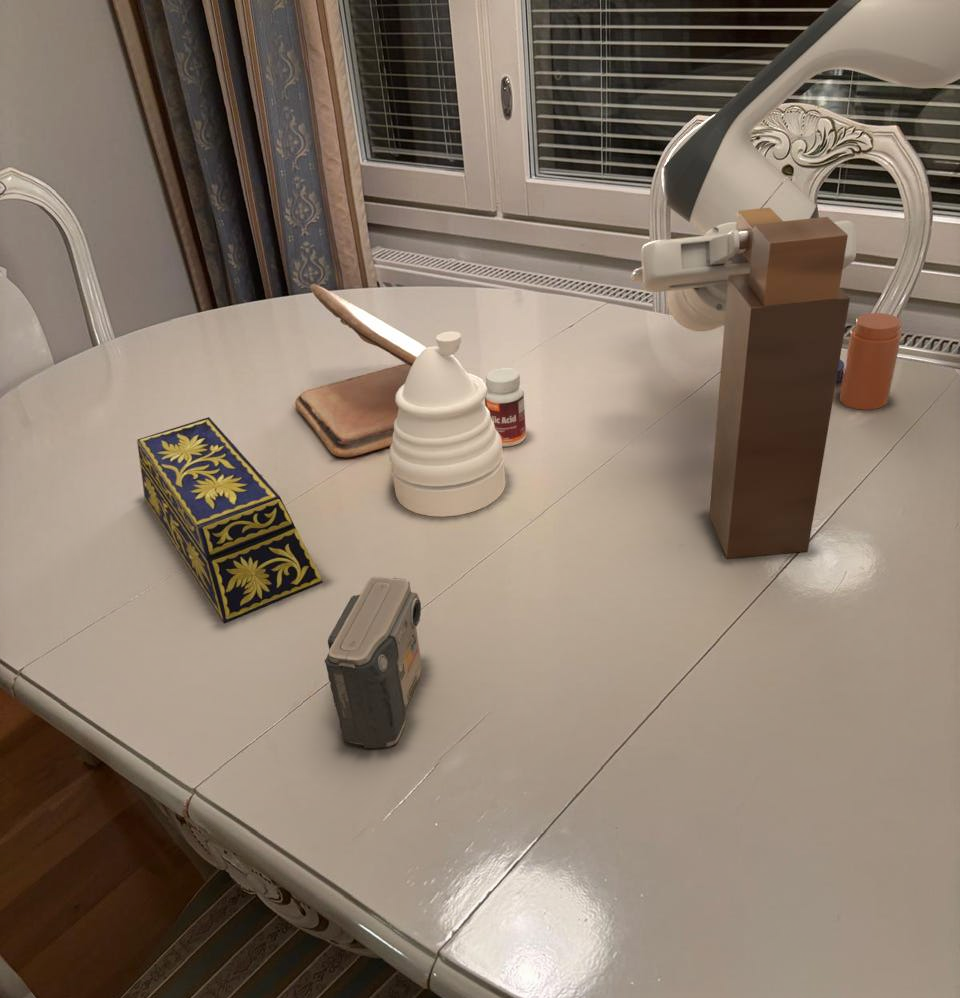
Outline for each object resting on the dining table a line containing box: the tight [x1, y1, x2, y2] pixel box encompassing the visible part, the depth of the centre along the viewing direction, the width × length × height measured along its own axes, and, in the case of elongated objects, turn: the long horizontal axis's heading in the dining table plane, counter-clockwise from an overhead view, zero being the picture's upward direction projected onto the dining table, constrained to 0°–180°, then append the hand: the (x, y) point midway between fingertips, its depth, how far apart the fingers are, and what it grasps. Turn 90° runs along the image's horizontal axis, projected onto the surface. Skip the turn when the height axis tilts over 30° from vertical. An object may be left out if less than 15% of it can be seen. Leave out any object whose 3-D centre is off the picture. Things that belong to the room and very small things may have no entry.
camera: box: [324, 576, 423, 749], centre depth 76 cm, size 11×6×10 cm, turn 164°
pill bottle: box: [484, 367, 527, 447], centre depth 111 cm, size 5×5×8 cm
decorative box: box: [136, 416, 324, 624], centre depth 99 cm, size 11×30×9 cm, turn 31°
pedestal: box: [708, 273, 851, 560], centre depth 85 cm, size 8×8×25 cm
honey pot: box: [389, 330, 507, 518], centre depth 100 cm, size 13×13×18 cm
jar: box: [838, 312, 903, 411], centre depth 110 cm, size 6×6×10 cm
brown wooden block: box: [736, 208, 848, 306], centre depth 79 cm, size 16×6×5 cm, turn 2°
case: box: [294, 283, 427, 458], centre depth 118 cm, size 20×21×16 cm
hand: (766, 236), depth 82 cm, fingers closed on brown wooden block, 3 cm apart
